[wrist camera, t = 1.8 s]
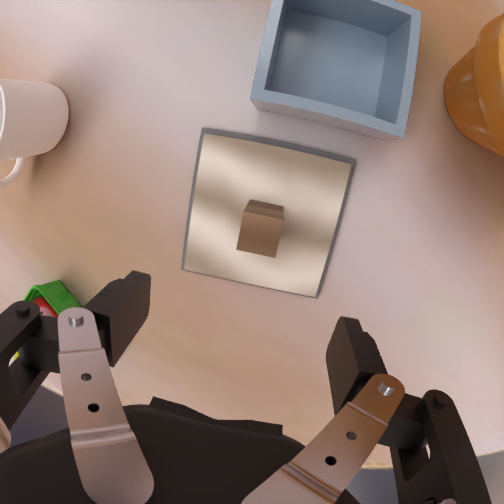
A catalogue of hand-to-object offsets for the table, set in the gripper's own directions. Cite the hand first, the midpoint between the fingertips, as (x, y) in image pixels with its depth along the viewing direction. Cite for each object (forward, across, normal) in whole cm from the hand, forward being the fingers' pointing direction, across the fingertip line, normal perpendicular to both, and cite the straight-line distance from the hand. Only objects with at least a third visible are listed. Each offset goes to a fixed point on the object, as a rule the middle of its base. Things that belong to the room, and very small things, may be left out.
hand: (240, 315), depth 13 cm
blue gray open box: (+17, -3, -15) cm, 23 cm away
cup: (+18, +27, -5) cm, 33 cm away
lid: (+17, 0, 0) cm, 17 cm away
